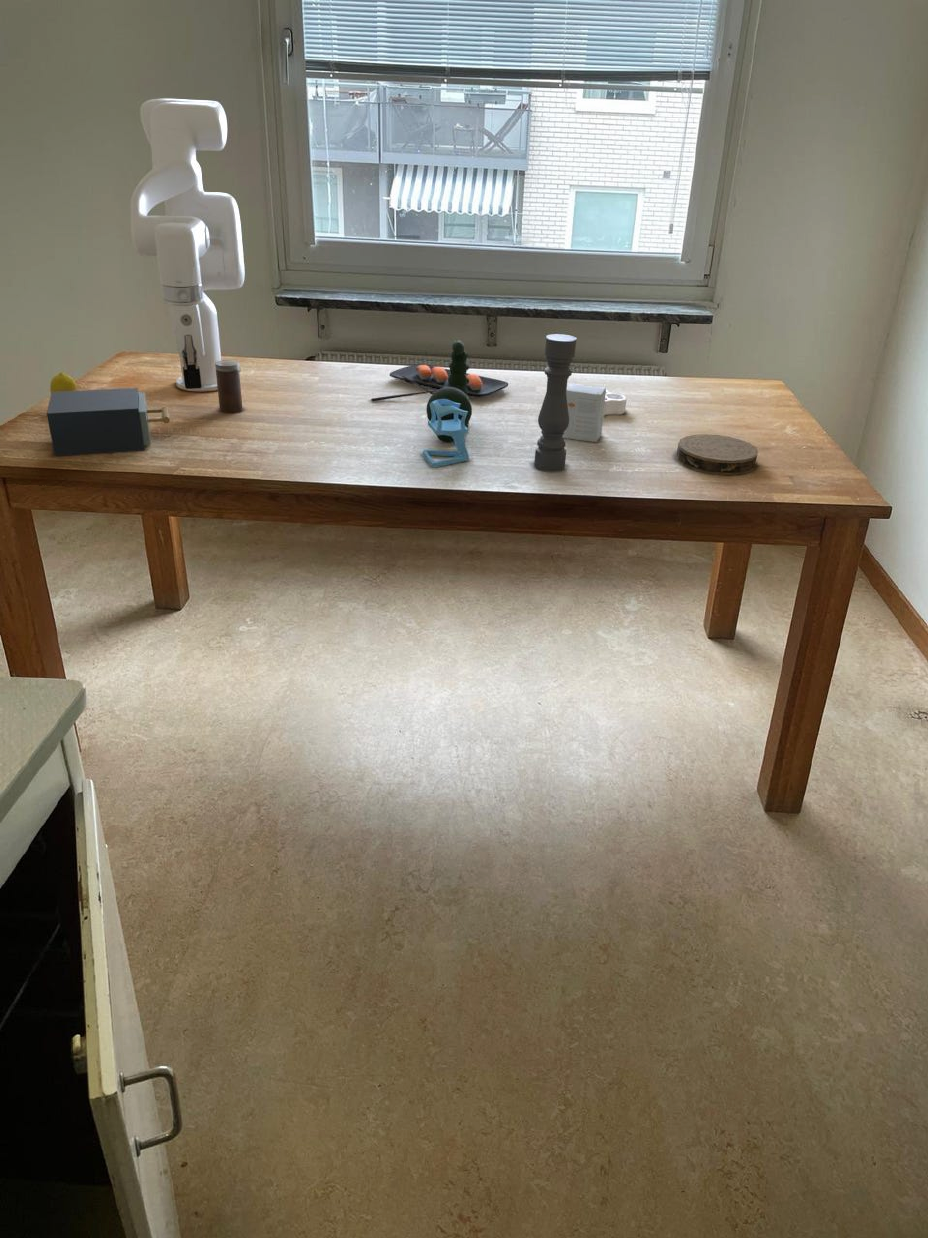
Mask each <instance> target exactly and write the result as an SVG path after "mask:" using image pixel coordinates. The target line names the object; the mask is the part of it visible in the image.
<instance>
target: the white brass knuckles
mask: <svg viewBox="0 0 928 1238" xmlns="http://www.w3.org/2000/svg"><path fill="white" fill-rule="evenodd" d="M626 406H627V397H626V396H625V395H624V394H621V393H615V392H611V391H609V390H608V389H607V388H606V396H605V405H604V415H603V416H607V415H619V416H620V415H624V413H626Z"/></svg>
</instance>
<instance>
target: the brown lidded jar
mask: <svg viewBox="0 0 928 1238" xmlns="http://www.w3.org/2000/svg"><path fill="white" fill-rule="evenodd" d="M239 366H240V364H239V361H237V360H232V359H224V360H222V359H221V361H218V362H216V363H215V368H216V378H217V388H218V390H217V397H218V407H219V412H221V413H222V414H223V413H224V414H237V413H241V412H242V411H243V409H244V408H243V398H242V397H243V396H242V386H241V375H240V372H239Z"/></svg>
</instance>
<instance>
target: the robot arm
mask: <svg viewBox="0 0 928 1238" xmlns="http://www.w3.org/2000/svg"><path fill="white" fill-rule="evenodd" d="M139 111H140V112H139V114H140V115H139V117H140V121H141V124H142V128H143V131H144V134H145V136H146V139H147V141H148V143H149V145H150V147H151V166H152V169H150V170H149V172H147V173H146V174H145V175H144V176H143V177H142V179H141V180H140V181H139V182H138V184H137V186H136V187H135V189H134V191H133V193H132V195H131V199H130V209H129V210H130V211H129V212H130V230H131V231H130V234H131V239H132V245H133V247H134V249H135V251H136V252H137V253H138V254H139V255H140V256H142V257H143V258H147V259H148V258H150V259H157V265H158V273H159V280H160V281H159V282H160V289H161V290H160V291H161V296H162V302H163V303H164V304H166V305H169V308H170V309H169V310H170V316H171V322H172V329H173V334H174V335H173V336H174V339H175V344H176V348H177V351H178V355H179V362H180V371H181V372H180V373H181V376H179V377H178V378H177V379H176V380H175V384H176V387H177V388H178V389H180V390H184V391H189V392H200V393H201V392H213V391H218V388H217V378H216V368H215V363H216V362H218V361H222V353H221V342H220V333H219V323H218V312H217V309H216V306H215V304H214V303H213V301H212V300H211V299H210V298H209V296H208V295H207V294H206V293H205V292H204V291H212V290H214V291H217V290H218V291H220V290H226V291H227V290H229V291H230V290H238V289H240V288H242V287H243V285H244V284H245V279H246V278H245V277H246V275H245V259H244V257H245V256H244V248H243V247H244V245H243V237H242V236H243V235H242V225H241V223H242V222H241V217H240V216H241V215H240V211H239V206H238V203H237V201H236V199H235V198H234V197H233V196H232V195H231V194H230V193H226V192H220V191H219V192H216V191H215V192H213V191H212V192H211V191H205V190H204V186H203V177H202V176H203V175H202V174H203V173H202V167H201V166H200V163H199V161H198V160H197V151H213V152H215V151H216V152H219V151H223V150H224V148H225V146H226V144H227V140H228V139H227V137H228V120H227V119H228V118H227V115H226V112H225V109H224V107H223V106H222V104H221V102H219V101H216V100H205V99H204V100H203V99H185V98H184V99H183V98H152V99H148V100H146V101H144V102H143V103H142V104H141V106H140V109H139ZM163 202H164V209H165V215H148V214H149V213H150V211H151V210H152V209H153V208H154V207H155V206H158V204H161V203H163ZM211 239H214V240H215V239H216V240H218V241H220V242H221V243H222V244H211ZM241 371H242V368H241V365H239V373H241Z"/></svg>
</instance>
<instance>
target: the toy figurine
mask: <svg viewBox="0 0 928 1238" xmlns="http://www.w3.org/2000/svg"><path fill="white" fill-rule="evenodd" d="M451 347H452V349H451V350H452V351H451V353H450V359H451V362H450V363H449V364H448V367H449V368H448V369H449V370H450V372H451V374H450V375H449V378H448V383H449V387H444V388H441V389H439V390H438V389H436V390H437V391H436V392H433V395H432V394H431V396H430V397H429V399H428V401H427V403H426V417H427V421H431V418H432V413H431V409H430V403H431V402H433V401H435V400H439V399H447V400H450V401H452V402H455V403H460V407H459V409H461V410H463V411H468V413H467V415H466V418H465V427H467V428H468V429H469V425H470V421H471V417H472V413H473V406H472V403H471V400H470V398H469V396H468V395H467V389H466V385H467V384H468V383H469V379H468V378H467V377H466V375H465V373H468V370H469V369H470V365H469V364H468V363H467V360H468V357H469V354H468V352H466V350H465V344H464V343H463V342H462V341H461V340H455V341H454V342H453V343H452V346H451ZM441 406H450V405H441ZM435 415H436V420H438V418H437V414H436V412H435ZM462 417H463V416H462V415H459V414H458V419H459V420H460V421H461V419H462ZM452 419H454V413H450V414H447V415H445V416H443V417H441V421H442V420H452ZM436 436H437V439H438V441H440V442H443V443H446V444H447V443H448V444H449V443H454V440H453V438H452V436H447V435H436Z"/></svg>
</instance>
